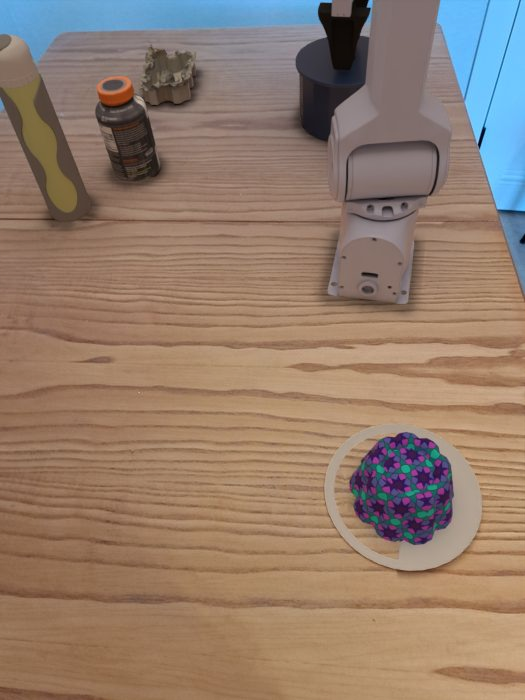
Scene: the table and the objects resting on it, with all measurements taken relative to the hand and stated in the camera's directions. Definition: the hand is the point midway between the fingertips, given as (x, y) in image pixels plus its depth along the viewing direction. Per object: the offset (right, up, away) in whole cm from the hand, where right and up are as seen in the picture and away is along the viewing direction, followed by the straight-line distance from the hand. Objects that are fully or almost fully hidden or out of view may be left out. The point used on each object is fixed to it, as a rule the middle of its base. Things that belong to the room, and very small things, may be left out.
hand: (346, 53), depth 70 cm
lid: (0, -1, +1) cm, 1 cm away
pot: (+1, -5, +7) cm, 9 cm away
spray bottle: (-33, -20, -1) cm, 39 cm away
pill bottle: (-26, -14, +3) cm, 30 cm away
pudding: (+1, -48, -25) cm, 54 cm away
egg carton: (-24, +2, +15) cm, 28 cm away
